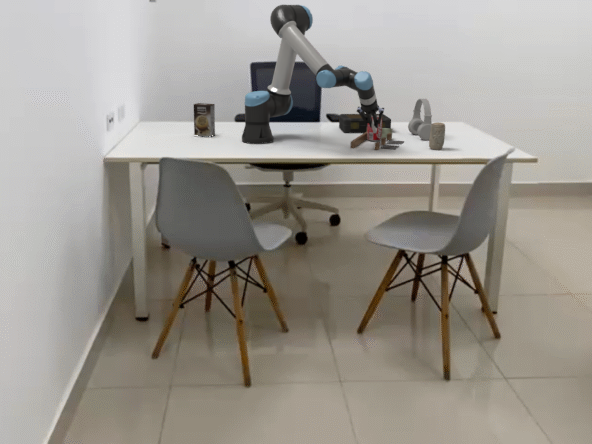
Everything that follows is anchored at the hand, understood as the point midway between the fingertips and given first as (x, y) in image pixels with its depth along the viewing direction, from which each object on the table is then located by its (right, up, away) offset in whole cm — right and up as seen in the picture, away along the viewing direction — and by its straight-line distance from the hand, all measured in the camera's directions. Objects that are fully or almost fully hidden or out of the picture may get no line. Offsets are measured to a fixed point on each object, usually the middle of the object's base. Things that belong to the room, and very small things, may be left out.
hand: (375, 130), depth 320 cm
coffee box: (-84, -1, +15) cm, 85 cm away
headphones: (+25, -1, +17) cm, 30 cm away
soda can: (0, -4, +6) cm, 7 cm away
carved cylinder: (+27, -10, -13) cm, 31 cm away
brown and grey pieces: (+2, -6, -2) cm, 7 cm away
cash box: (-2, +5, +36) cm, 37 cm away
